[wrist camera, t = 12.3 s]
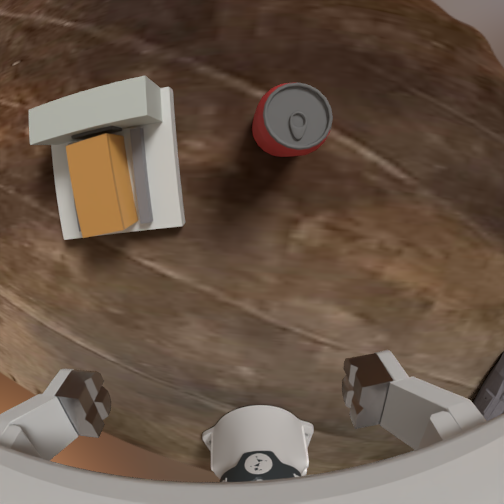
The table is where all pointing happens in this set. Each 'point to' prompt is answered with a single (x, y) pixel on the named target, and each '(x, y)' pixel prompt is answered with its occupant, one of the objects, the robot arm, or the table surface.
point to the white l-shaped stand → (136, 144)
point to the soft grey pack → (492, 393)
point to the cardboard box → (101, 184)
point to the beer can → (292, 120)
